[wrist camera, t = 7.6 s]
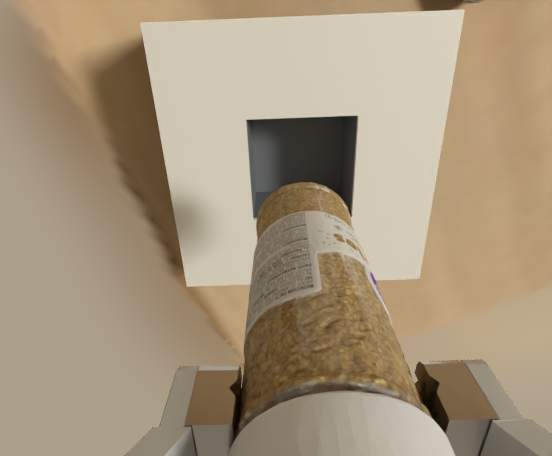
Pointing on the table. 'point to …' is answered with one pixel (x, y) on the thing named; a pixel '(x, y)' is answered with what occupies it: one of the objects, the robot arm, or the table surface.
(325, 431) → the sprinkles bottle
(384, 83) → the socket block
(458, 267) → the table surface
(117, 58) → the table surface
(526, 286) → the table surface
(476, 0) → the mobile phone
